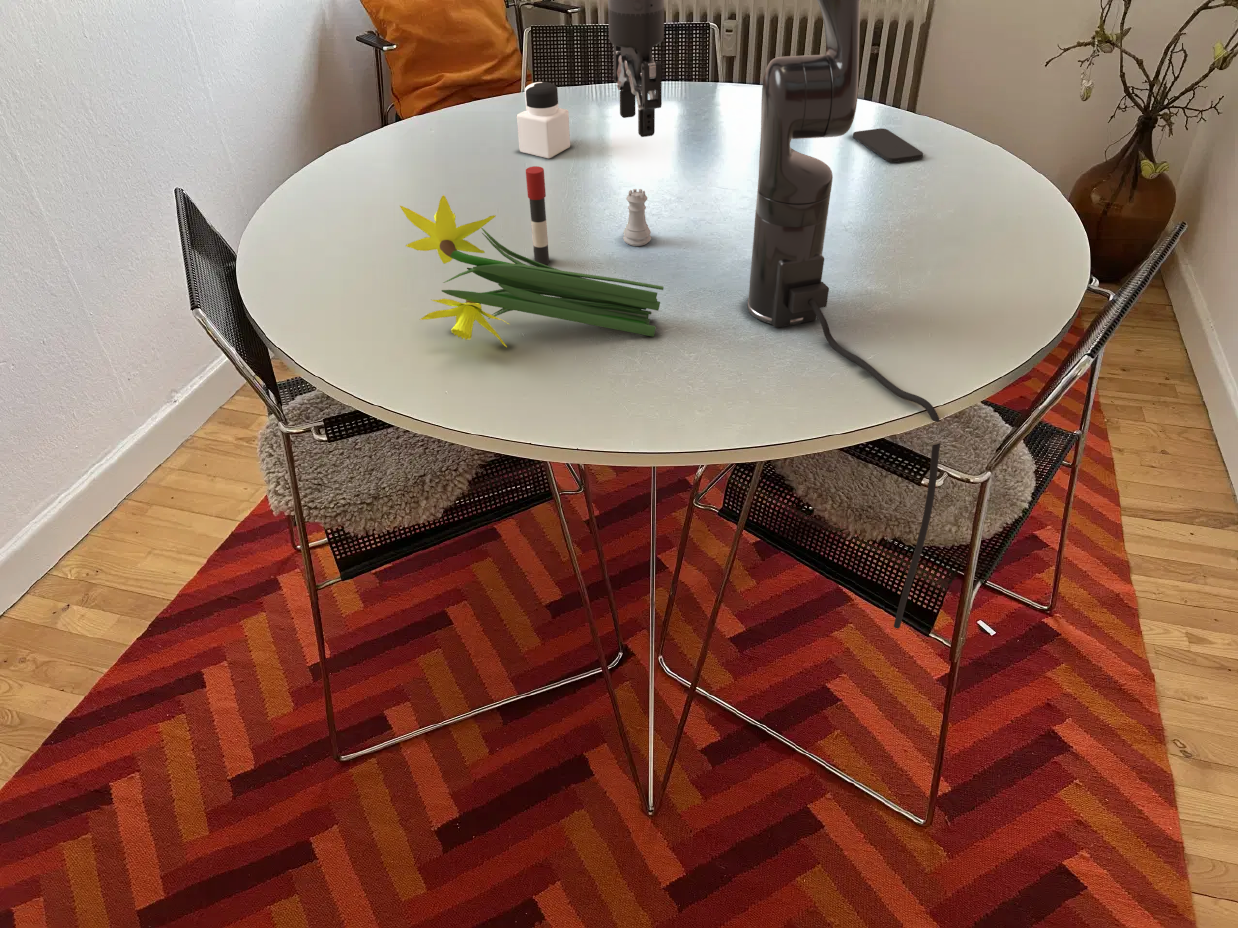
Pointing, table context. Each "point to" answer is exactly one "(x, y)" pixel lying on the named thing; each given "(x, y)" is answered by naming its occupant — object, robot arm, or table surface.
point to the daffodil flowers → (528, 284)
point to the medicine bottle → (543, 122)
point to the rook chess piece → (637, 220)
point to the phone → (887, 145)
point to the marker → (538, 213)
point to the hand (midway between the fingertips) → (636, 126)
